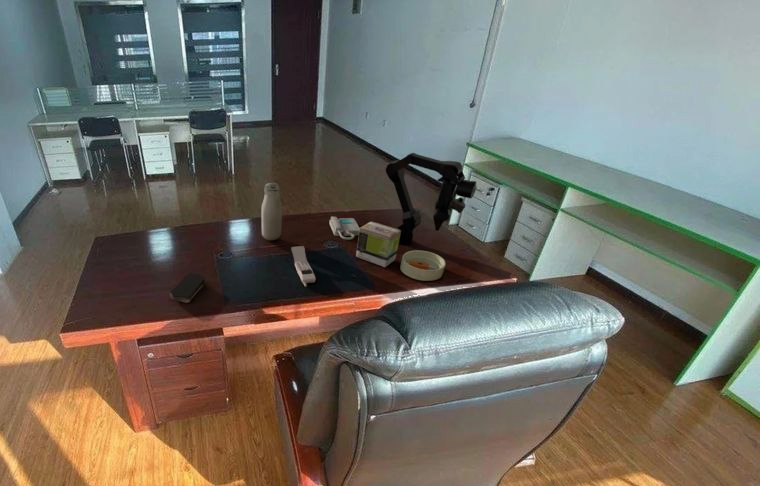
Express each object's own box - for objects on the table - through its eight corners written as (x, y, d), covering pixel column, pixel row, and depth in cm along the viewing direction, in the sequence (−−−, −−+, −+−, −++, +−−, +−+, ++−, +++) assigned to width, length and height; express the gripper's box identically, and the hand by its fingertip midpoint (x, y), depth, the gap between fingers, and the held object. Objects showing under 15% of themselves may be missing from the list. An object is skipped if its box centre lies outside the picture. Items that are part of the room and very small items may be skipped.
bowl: (397, 277, 166) (400, 265, 163) (402, 258, 179) (404, 247, 176) (441, 285, 161) (444, 273, 158) (442, 265, 174) (446, 254, 171)
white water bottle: (264, 244, 191) (264, 188, 175) (259, 235, 199) (258, 180, 183) (284, 242, 193) (285, 186, 177) (278, 233, 201) (279, 178, 185)
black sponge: (189, 279, 166) (188, 272, 164) (207, 283, 164) (206, 275, 162) (169, 301, 154) (167, 293, 152) (188, 305, 152) (187, 297, 149)
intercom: (339, 236, 188) (329, 215, 208) (338, 244, 191) (328, 223, 211) (366, 236, 188) (354, 214, 209) (365, 244, 191) (353, 222, 211)
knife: (407, 268, 171) (409, 262, 169) (408, 266, 172) (409, 259, 171) (434, 273, 167) (436, 267, 165) (434, 270, 169) (436, 264, 167)
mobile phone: (303, 245, 178) (318, 273, 158) (303, 257, 181) (317, 286, 161) (290, 246, 177) (303, 275, 157) (290, 258, 181) (303, 287, 160)
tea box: (395, 259, 178) (402, 229, 170) (384, 268, 172) (390, 237, 164) (366, 249, 187) (371, 220, 178) (354, 257, 181) (359, 227, 172)
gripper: (467, 203, 160) (456, 238, 169) (467, 188, 174) (457, 221, 183) (437, 199, 163) (428, 233, 172) (440, 185, 177) (431, 217, 186)
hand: (437, 226), depth 178 cm, fingers open, 9 cm apart
